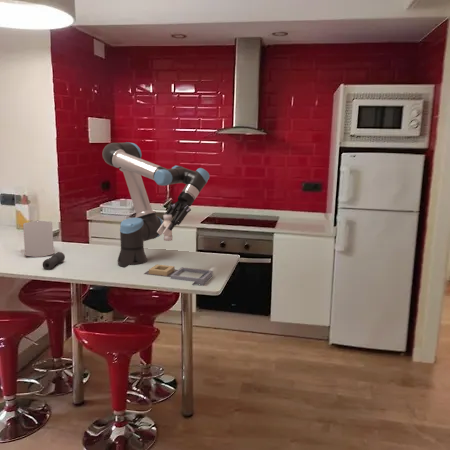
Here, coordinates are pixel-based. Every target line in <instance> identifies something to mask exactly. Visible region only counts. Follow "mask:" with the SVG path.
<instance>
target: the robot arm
mask: <svg viewBox="0 0 450 450" xmlns="http://www.w3.org/2000/svg"><path fill="white" fill-rule="evenodd" d="M142 155H143V154H142V151H141V148H140V147H139V146H138V145H137V144H136V143H134V142H129V141H128V142H127V141H126V142H111V143H108V144H106V145H105V146H104V148H103V149H102V155H101V156H102V159H103V160H104V162H105V163H106V164H107V165H109V166H111V167H114V168H117V169H119V171H121V172H122V173H123V177H124V179H125V182H126V185H127V188H128V192H129V195H130V199H131V201H132V205H133V207H134V211H135V217H129V218H125V219H123V220H122V221H121V222H120V228H119V232H120V233H119V236H120V237H119V238H120V252H119V254H118V257H117V266H119V267H121V268H127V267H128V266H139V265H143V264H146V263H147V262H148V258H147V255H146V253H145V249H144V247H145V246H144V242H145V241H146V242H147V241H150V240H155V239H156V238H159V237H161V236H162V235H163V236H164V235H165V236H166V237H167V236H168V234H169V233H170V231H171V230H172V231H173V229H174V228H175V226H177V225H178V226H179V225H181V223H182V222H183V220H184V219H185V218H186V216H187V215H188V214H189V213H190V212H191V211H192V209H191V208H190V207H191V206H192V205H193V204H194V202H195V200H196V198H198V196H199V194H200V193H201V192H202V190H203V188H205V186H206V184H207V183H208V180H210V176H211V175H210V173H209V172H208V171H207V170H206V169H204V168H202V167H199V168H197V169H196V170H192V169H189V168H186V167H183V166H181V165H174V166H172V167H171V168H166V167H163V166H161V165H159V164H155V163H153V162H151V161H148V160H145V159H143V158H142ZM142 176H143V177H145V178H148V179H150V180H153V181H154V182H155V183H156V185H158V186H169V185H176V184H184V185H185V186H184V187H183V189H182V191H181V192H180V193H179V195H178V196H177V201H176V202H175V203H172V202H171V203H170V204H169V206H168V208H167V210H166V211H165V213H164V214H163V215H165V214H171V215H172V221H171V222H172V223H171V222H170V223H169V224H168V226H167V227H166V229H165V230H164V218H163V216H162V217H161V216H157V213H156V211H155V210H153V209H152V206H151V204H150V200H149V196H148V193H147V190H146V188H145V184H144V181H143V178H142Z"/></svg>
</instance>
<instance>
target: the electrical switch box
mask: <svg viewBox="0 0 450 450" xmlns="http://www.w3.org/2000/svg"><path fill="white" fill-rule="evenodd" d="M22 228H23V242H24V243H23V245H24V255H25V256H26V257H34V258H35V257H36V258H41V257H46V256H49V255H50V256H51V255H54V254H55V252H54V251H55V250H54V230H53V222H52V221H45V220H38V219H37V220H34V221H33V220H32V221H29V222H24V223H23V226H22Z"/></svg>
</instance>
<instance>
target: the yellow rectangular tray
mask: <svg viewBox="0 0 450 450" xmlns="http://www.w3.org/2000/svg"><path fill="white" fill-rule="evenodd" d="M177 270H178V269H175V266H174V265H166V264H155V265H154V266H152V267H151V268H149V269H148V270H147V271H145V272H144V273H143V275H147V276H157V277H166V278H171V275H172V274H173V273H175V272H176V271H177Z"/></svg>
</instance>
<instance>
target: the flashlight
mask: <svg viewBox="0 0 450 450" xmlns="http://www.w3.org/2000/svg"><path fill="white" fill-rule="evenodd" d="M65 259H66V255H65V254H64V253H63V252H62V251H57V252H56V253H55V252H54V253H53V254H52V256H51V257H50V258H46V259H44V260H43V262H42V268H43V269H44V270H46V271H48V270H52V269H53V268H54V267H55V266H56V265H59V264H61V263H62V262H64V261H65Z"/></svg>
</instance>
